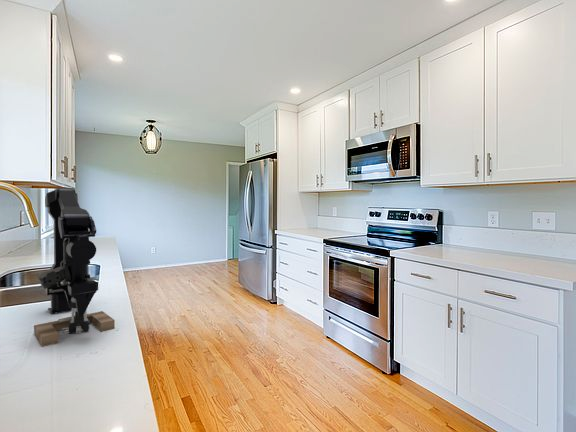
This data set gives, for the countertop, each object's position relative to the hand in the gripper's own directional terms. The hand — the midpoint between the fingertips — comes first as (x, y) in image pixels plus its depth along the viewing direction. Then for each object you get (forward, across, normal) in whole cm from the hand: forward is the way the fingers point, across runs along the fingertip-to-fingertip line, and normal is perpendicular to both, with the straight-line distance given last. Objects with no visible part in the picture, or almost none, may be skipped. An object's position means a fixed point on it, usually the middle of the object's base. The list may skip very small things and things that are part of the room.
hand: (76, 311), depth 89 cm
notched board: (+6, -1, 0) cm, 6 cm away
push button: (+6, 0, 0) cm, 6 cm away
